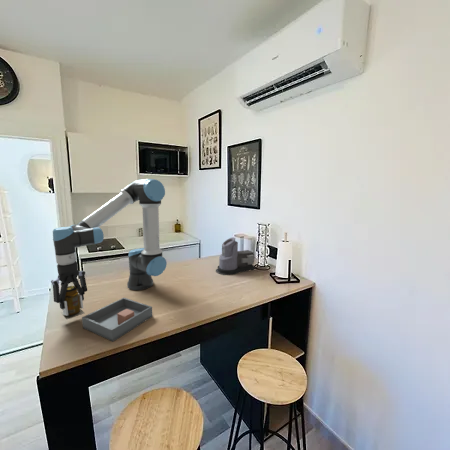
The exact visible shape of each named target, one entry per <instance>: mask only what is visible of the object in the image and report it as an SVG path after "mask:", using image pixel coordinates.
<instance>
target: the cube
mask: <svg viewBox="0 0 450 450" xmlns="http://www.w3.org/2000/svg"><path fill="white" fill-rule="evenodd" d="M133 316H134V311H132V310H129V309H125V310H123V311H121V312H119V313H117V319H118V324H121V323H123V322H125V321H126V320H128V319H130V318H132V317H133Z"/></svg>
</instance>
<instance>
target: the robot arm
mask: <svg viewBox="0 0 450 450" xmlns="http://www.w3.org/2000/svg"><path fill="white" fill-rule="evenodd" d="M165 195H166V189H165V186H164V184H163V183H162V182H161V181H160V180H158V179H154V178H139V179H135V180H133V181H132V182H131V183H129V184H127V185H126V186H124V187H123V188H122V189H121V190H119V194H117V195H116V196H114V197H113V198H111V199H110V200H109V201H107V202H105V203H104V204H103V205H102V206H100V207H98V208H97V209H96V210H95V211H93V212H92V213H91V214H89V215H88V216H86V217H85V218H83V219H82V220H81V221H79V222H78V223H77V224H71V225H70V226H61V227H55V228H54V229H53V230H52V240H53V241H52V242H53V246H54V253H55V263H56V267H57V268H56V269H57V273H58V274H57V278H55V279H51V281H50V283H51V285H52V291H53V293H52V294H53V302H54V303H57V304H59V308H60V309H61V310H62V312H63V314H64V315H66V316H67V315H68V308H67V301H65V296H66V290H67V287H68V286H69V285H70V284H71V283H72V284H73V286H76V287H77V288H76V289H77V292H78V295H79V303H80V309H81V310H83V309H84V303H83V301H85V297H84V295H85V294H86V293H85V292H88V285H87V281H86V271H83V270H80V271H79V266H78V265H79V264H78V260H77V259H78V258H77V257H78V256H77V248H80V247H86V246H91V245H97V244H101V243H102V242H103V241H104V237H105V236H104V232H103V230H102V229H101V228H100V227H101V226H102V225H103V224H105V223H106V222H108V221H109V220H110V219H112V218H113V217H114V216H116V215H117V214H118V213H119V212H121V211H122V210H123V209H124V208H126V207H128V206H129V205H134V204H135V203H136V202H138V204H139V205H140V206H141V208H142V229H143V230H142V232H143V233H142V234H143V235H142V236H143V237H142V238H143V248H135V249H132V250H129V252H128V264H129V265H128V267H129V268H128V269H129V276H128V281H127V284H126V285H127V286H126V287H127V288H129V290H131V289H132V290H131V291H143V290H146V289H148V288H149V289H150V288H151V287H153V285H154V280H153V277H158V276H161V275H162V274H163V273H164V272H165V270H166V268H167V265H168V264H167V259H166V258H165V257H164V256H163V249H161V248H160V220H159V219H160V217H159V216H160V213H159V212H160V211H159V210H160V209H159V207H160V206H161V205H162V200H163V199H164V198H165ZM78 277H79V280H78ZM59 284H60V285H59Z"/></svg>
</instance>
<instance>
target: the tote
mask: <svg viewBox="0 0 450 450" xmlns="http://www.w3.org/2000/svg"><path fill="white" fill-rule="evenodd" d="M125 309H129V310H132V311H134V316H133V317H132V318H130V319H128V320H126V321H125V322H123V323H121V324H118V319H117V313H119V312H121V311H123V310H125ZM152 317H153V306H151V305H147V304H145V303H142V302H138V301H135V300H132V299H129V298H126V297H122V298H120V299H117V300H115V301H113V302H112V303H109V304H107V305H106V306H105V305H104V306H103V307H101V308H99V309H96V310H94V311H92V312H90V313H87V314H86V315H84V316H82V317H81V322H82V328H83V329H84V330H86V331H89V332H91V333H94V334H95V335H98V336H100V337H101V338H104V339H106V340H108V341H110V342H115V341H116V340H117V339H119V338H122V336H124V335H126V334H128V333H129V332H130V331H132V330H134V329H135V328H137V327H138V326H141V325H142V324H143V323H145V322H147V321H148V320H149V319H152Z"/></svg>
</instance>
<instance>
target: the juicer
mask: <svg viewBox="0 0 450 450" xmlns="http://www.w3.org/2000/svg"><path fill="white" fill-rule="evenodd" d="M238 243H239V242H238V241H236V237H234V236H233V237H230V238H228V239H226V240H225V241H223V242H222V243H221V254H220V255H219V258H218V261H219V263H218V264H219V265H218V266H217V268H216V269H215V273H217V274H218V275H221V276H233V275H237V274H239V273H243V272H249V270H251V271H255V270H254V269H257V268H256V267H255V265H254V264H255V263H254V262H255V253H254V252H253V251H251V250H249V249H245V250H238V248H239V244H238Z"/></svg>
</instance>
